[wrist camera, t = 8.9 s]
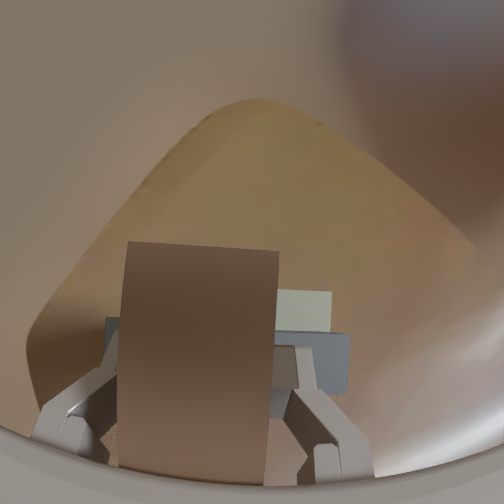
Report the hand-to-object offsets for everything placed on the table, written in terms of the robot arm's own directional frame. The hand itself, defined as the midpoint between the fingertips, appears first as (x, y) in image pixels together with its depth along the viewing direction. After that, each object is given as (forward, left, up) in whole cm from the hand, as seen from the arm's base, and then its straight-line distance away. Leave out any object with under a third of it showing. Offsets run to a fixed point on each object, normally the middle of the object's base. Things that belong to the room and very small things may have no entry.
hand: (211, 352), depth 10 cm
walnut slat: (-1, 0, -6) cm, 6 cm away
